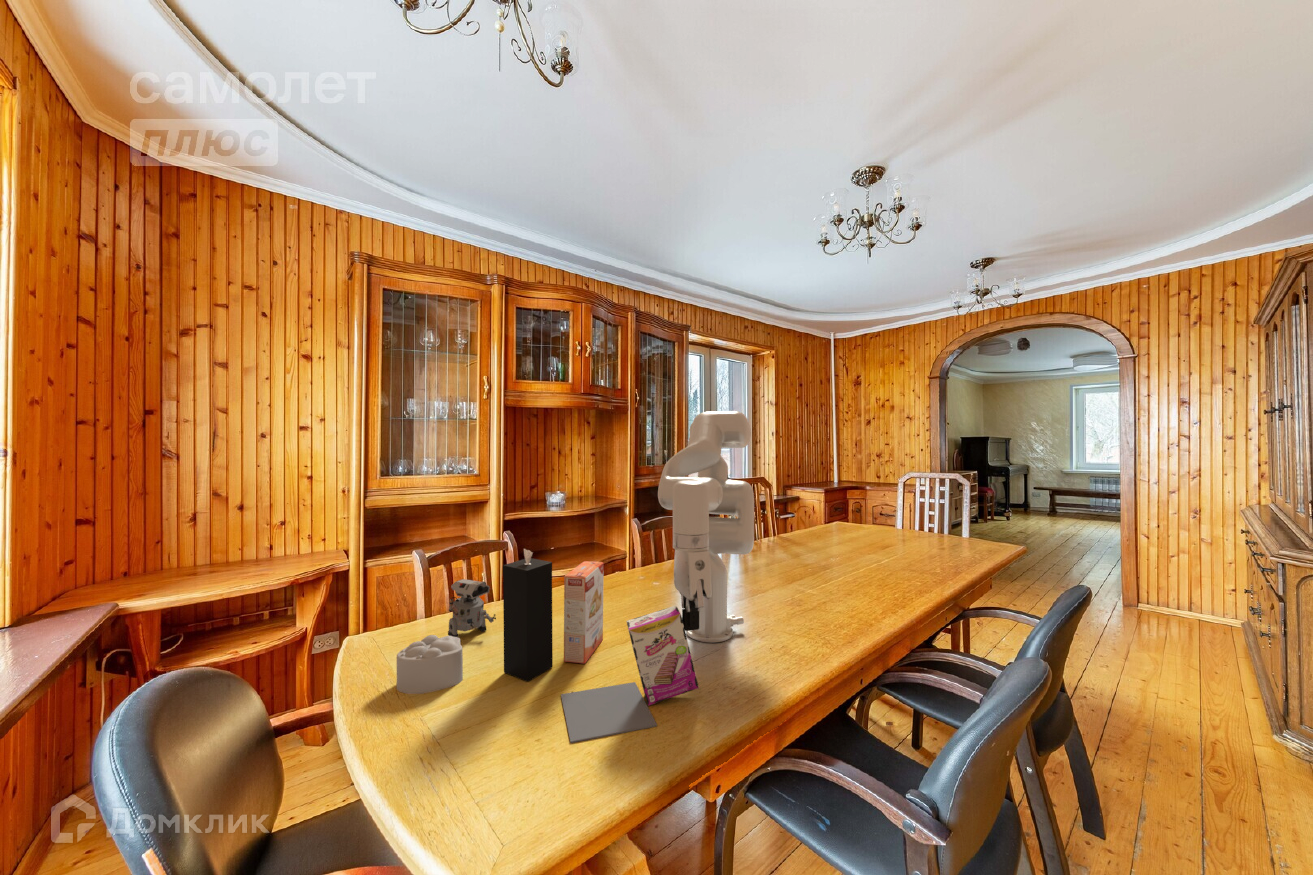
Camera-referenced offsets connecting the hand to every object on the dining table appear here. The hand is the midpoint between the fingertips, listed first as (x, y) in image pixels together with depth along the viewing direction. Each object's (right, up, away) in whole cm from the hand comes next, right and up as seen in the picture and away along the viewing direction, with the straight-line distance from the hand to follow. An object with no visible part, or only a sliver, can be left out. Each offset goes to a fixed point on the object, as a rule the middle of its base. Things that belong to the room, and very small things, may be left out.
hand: (690, 628), depth 99 cm
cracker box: (-25, -14, +21) cm, 36 cm away
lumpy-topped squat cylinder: (-57, -14, +7) cm, 59 cm away
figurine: (-57, -14, +30) cm, 66 cm away
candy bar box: (-4, -13, -1) cm, 13 cm away
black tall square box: (-37, -14, +11) cm, 41 cm away
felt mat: (-17, -14, -5) cm, 23 cm away
